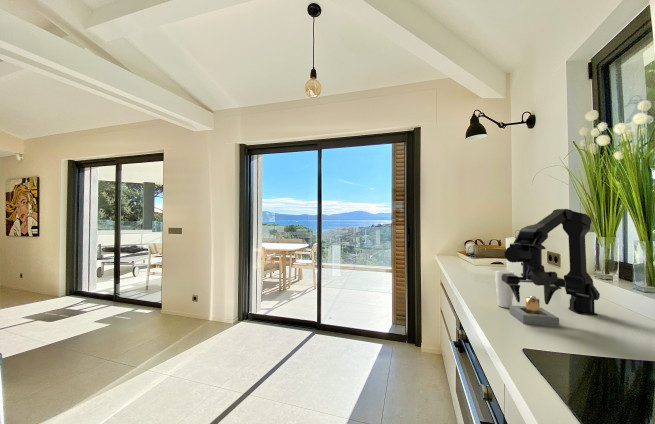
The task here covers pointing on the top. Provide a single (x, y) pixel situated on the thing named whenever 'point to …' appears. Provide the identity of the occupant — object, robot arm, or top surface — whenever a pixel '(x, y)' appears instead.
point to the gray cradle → (534, 316)
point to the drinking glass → (503, 289)
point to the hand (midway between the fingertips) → (532, 303)
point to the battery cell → (532, 305)
